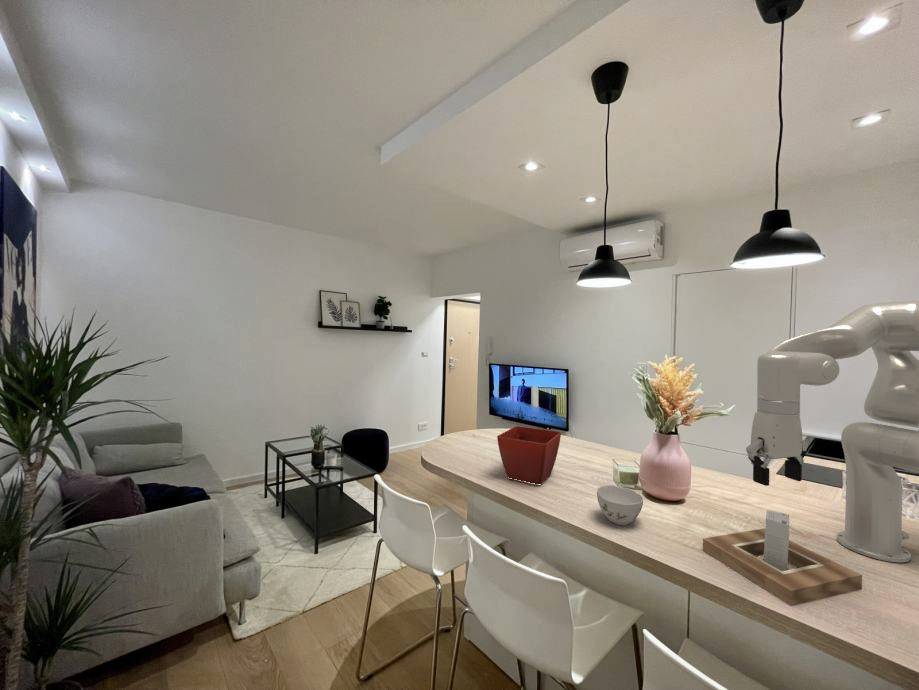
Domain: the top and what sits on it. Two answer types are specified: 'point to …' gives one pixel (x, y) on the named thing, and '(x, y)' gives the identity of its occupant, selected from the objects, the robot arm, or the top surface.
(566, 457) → the top surface
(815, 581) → the picture frame
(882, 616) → the top surface
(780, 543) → the skincare box
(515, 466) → the plant pot
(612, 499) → the teacup
